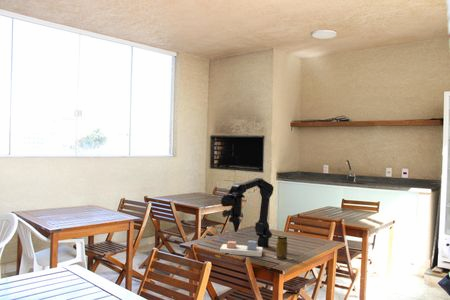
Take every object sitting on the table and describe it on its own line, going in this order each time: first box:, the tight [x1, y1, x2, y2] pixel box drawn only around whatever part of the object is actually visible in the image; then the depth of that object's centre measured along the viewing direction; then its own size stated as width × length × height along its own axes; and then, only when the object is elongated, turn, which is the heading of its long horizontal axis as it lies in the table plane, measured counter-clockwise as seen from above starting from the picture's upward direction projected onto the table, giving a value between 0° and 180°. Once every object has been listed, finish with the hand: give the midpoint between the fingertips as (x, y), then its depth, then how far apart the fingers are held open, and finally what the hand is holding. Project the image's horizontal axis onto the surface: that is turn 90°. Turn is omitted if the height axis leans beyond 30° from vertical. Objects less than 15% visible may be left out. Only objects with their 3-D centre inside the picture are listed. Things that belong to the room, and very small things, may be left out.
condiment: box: [272, 235, 293, 261], centre depth 221 cm, size 7×8×12 cm
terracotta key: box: [226, 240, 237, 249], centre depth 230 cm, size 5×5×4 cm
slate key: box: [246, 239, 258, 250], centre depth 228 cm, size 5×5×4 cm
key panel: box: [219, 243, 264, 257], centre depth 229 cm, size 24×12×2 cm, turn 81°
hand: (235, 231), depth 230 cm, fingers closed
